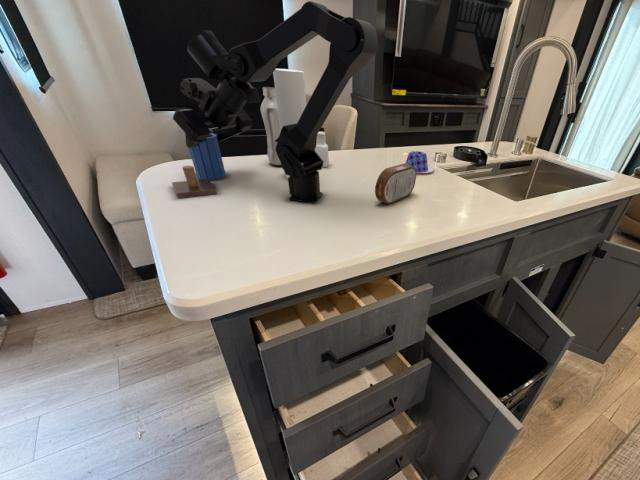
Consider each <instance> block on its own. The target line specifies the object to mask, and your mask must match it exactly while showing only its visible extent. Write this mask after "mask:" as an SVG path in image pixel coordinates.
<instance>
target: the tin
mask: <svg viewBox="0 0 640 480" xmlns="http://www.w3.org/2000/svg"><path fill="white" fill-rule="evenodd" d="M403 163H404V164H401V163H399V164H400V165H399V164H396V165H393V166H389V167H386V168H385V169H383V170H382V171H381V173H379V176H377V177H378V178H377V179H376V182H375V188H374V194H375V197H376V200H377V201H379V202H382V203H384V204H388V205H390V204H392V203H395V202H397V201H400V200H403V199H405V198H407V197H408V196H410V195H411V193H412V192H413V190H414V188H415V185H416V181H417V174H418V173H417V172H416V169H415V168H414V167H412V166H410V165H408V164H406V163H405V162H403Z"/></svg>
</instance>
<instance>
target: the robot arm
mask: <svg viewBox="0 0 640 480" xmlns="http://www.w3.org/2000/svg"><path fill="white" fill-rule="evenodd" d="M318 36H319V37H321V38H322V39H324V40H325V41H327V42H328V43H330V44H329V49H328V50H329V51H328V63H327V66H326V67H325V69H324V70H323V73H322V75H321V77H320V79H319V81H318V82H317V84H316V86H315V88H314V89H313V92H312V94H311V96H310V98H309V99H308V102H306V107H305V109H304V111H303V113H302V115H301V116H300V118H299V120H298V122H297V123H295V124H291V125H287V126H283V127H282V129H281V132H280V135H279V137H278V139H276V140H275V142H278V143H277V144H276V152H277V156H278V158H279V160H280V162H281V164H282V165H281V167H282V169H283V172H284V174H285V176H286V175H290V177H289V178H287V183H288V191H289V192H288V193H289V195H290V196H289V201H296V202H303V203H311V204H312V203H313V204H315V203H317V202H318V201H319V200H320V198H321V197H322V196H323V192H322V191H321V185H320V170H322V169H323V167H322V166H323V160H322V159H321V158H320V157H319V155H318V154H317V153H316V151H315V148H316V143H317V134H318V132H320V130H321V129H322V127H323V125H324V124H325V122H326V120H327V119H328V117H329V115H330V114H331V112H332V110H333V108H334V107H335V105H336V103H337V101H338V100H339V98H340V96H341V95H342V93H343V91H344V90H345V88H346V86H347V85H348V83H349V81H350V80H351V79H352V77H354V76H355V75H356V74H358V73H359V72H360V71H361V70H362V69H363V68H364V67H366V65H367V64H368V63H369V62H370V61H371V59H372V58H373V57H374V56H375V55H376V53H377V51H378V49H379V42H378V41H379V40H378V34H377V31H376V29H375V28H374V26H373V25H372V24H371V23H370V22H368V21H366V20H362V19H360V18H355V17H352V16H347V17H346V16H344V15H341V14H339V13H337V12H335V11H333V10H331V9H329V8H327V6H325V5H324V4H322V3H319V2H316V1H311V0H308V1H305V3H303V4H302V6H301V7H300V8H299V9H298V10H297V11H295V12H294V13H293V14H291V15H290V16H289V17H287V18H286V19H285V20H284V21H282V22H280V24H278V25H277V26H275V27H274V28H273V29H271V30H270V31H268V32H267V33H266V34H265V35H263V36H262V37H261V38H259V39H256V40H253V41H247V42H244V43H241V44H239V45H235V46H233V47H232V48H230V49H229V50H228V51H227V50H226V49H225V47H224V46H223V45H222V43H220V41H219V40H218V38H217V36H216V35H215V33H214V32H213V31H212V30H206V29H203V30H202V32H201V34H198V35H197V36H196V35H195V37H194V38H192V39H191V40H189V42H187V45H186V46H187V47H186V51H187V52H188V54H189V55H190V56H191V57H192V59H193V61H195V63H196V64H197V65H198V66H199V67H200V68H201V70H202V71H203V73H204V74H206V76H207V77H208V78H209V79H211V80H217V81H219V83H218V85H217V87H214V86H213V85H212V84H211V83H209V82H208V81H207V80H205V79H203V78H200V77H187V78H184V79H182V81H181V82H180V84H179V85H180V91H181V93H182V94H183V95H184V96H186V97H188V99H192V100H194V101H195V102H197V103H199V104H198V108H199V109H200V111H201V112H205V113H204V114H205V117H200V116H199V114H198V113H197V112H196V111H195V109H194V108H193V109H192V108H185V109H176V110H175V111H174V113H173V115H172V120H173V121H174V122H175V123H176V124H177V126H179V128H180V129H181V130H182V131H183V132H184V135H185V146H186V147H187V148H188V150H189V149H191V148H193V147H195V146H197V145H198V144H200V143H202V142H204V141H206V140H207V139H206V138H207V137H208V136H209V135H210V133H211V132H210V130H214V129H215V130H216V129H218V130H217V132H216V135H217V140H218V143H220V142H222V141H225V140H227V139H229V138H233V137H234V136H237V135H239V134H242V133H245V132H246V131H250V130H251V128H252V127H253V120H252V118H251V117H250V116H249V114H248V113H247V112H246V110H245V109H244V106H245V105H246V103H248V104H252V103H260V102H261V97H260V95H259V93H258V88H257V87H253V86H252V84H251V83H254V82H256V83H257V82H265V81H267V80H268V79H269V78H270V76H271V75H273V72H274V71H275V69H277V65H279V63H280V62H281V61H282V60H284V59H285V58H286V57H287V56H288V57H289V55H291V54H292V53H294V52H295V51H297V50H298V49H299V48H300V49H301V47H303V46H304V45H305V44H307V43H308V42H310V41H312V40H313V39H314V38H316V37H318ZM301 163H303V165H302V164H301Z"/></svg>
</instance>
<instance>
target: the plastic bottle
mask: <svg viewBox="0 0 640 480" xmlns="http://www.w3.org/2000/svg"><path fill="white" fill-rule="evenodd" d="M262 92H263V93H262V95H263V96H264V98H263V100H262V102H261V104H260V108H259V110H260V114H261V119H262V120H263V124H264V129H265V134H266V144H267V145H266V146H267V149H266V150H267V151H266V156H267V158H268V161H269V163H270V164H271V165H275V166H282V164H281V162H280V160H279V158H278V156H277V152H276V144H277V143H278V142H275V140H276V139H278V137H279V135H280V125H279V117H278V109H277V100H276V92H275V87H273V86H272V87H271V86H263V87H262Z"/></svg>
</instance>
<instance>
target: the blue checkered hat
mask: <svg viewBox="0 0 640 480" xmlns="http://www.w3.org/2000/svg"><path fill="white" fill-rule="evenodd" d="M404 163H406V164H408V165H410V166H412V167H414V168H415V169H416V172H417V174H428V173H432V172H433V171H434V170H435V168H434V167H433V166H432V165H429V164H428V156H427V153H425V152H423V151H418V150H416V151H415V150H412V151H410V152H408V155H407V158H406V160H405V162H401V163H399V164H398V165H400V164H404Z"/></svg>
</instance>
